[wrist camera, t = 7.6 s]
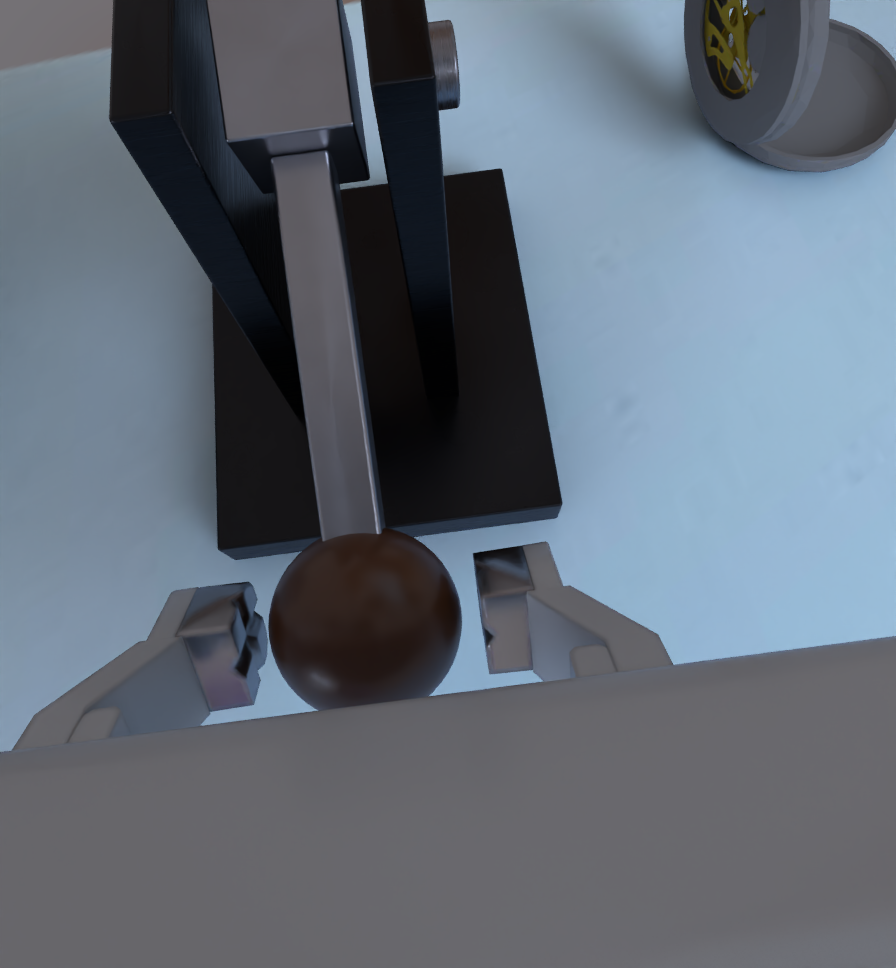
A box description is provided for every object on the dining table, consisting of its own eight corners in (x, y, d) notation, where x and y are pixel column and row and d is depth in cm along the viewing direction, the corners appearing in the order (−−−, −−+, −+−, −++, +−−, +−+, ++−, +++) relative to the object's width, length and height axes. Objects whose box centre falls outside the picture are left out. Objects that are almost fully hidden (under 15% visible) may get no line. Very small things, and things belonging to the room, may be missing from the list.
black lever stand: (557, 518, 22) (656, 268, 9) (234, 560, 22) (-86, 367, 9) (501, 197, 25) (518, -279, 13) (225, 234, 25) (-13, -206, 13)
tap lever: (470, 673, 15) (477, 740, 12) (305, 695, 15) (260, 767, 12) (389, 52, 15) (369, -79, 11) (218, 75, 15) (143, -49, 11)
